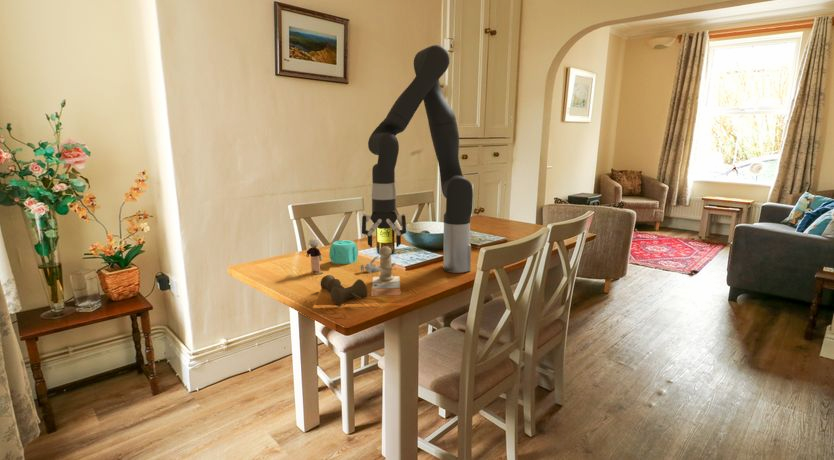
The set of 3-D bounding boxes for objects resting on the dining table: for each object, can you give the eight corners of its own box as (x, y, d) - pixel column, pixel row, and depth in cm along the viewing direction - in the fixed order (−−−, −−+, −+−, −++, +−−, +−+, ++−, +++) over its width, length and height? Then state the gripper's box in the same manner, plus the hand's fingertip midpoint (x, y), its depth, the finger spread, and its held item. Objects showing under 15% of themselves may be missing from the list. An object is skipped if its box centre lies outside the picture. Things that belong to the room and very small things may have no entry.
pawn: (392, 276, 149) (392, 244, 147) (392, 281, 145) (392, 247, 142) (379, 277, 149) (378, 244, 146) (379, 281, 145) (378, 248, 142)
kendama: (341, 287, 144) (375, 303, 129) (314, 295, 138) (346, 313, 123) (339, 269, 143) (374, 284, 127) (312, 276, 137) (344, 292, 122)
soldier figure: (397, 277, 155) (365, 272, 149) (390, 283, 158) (359, 278, 152) (395, 258, 159) (364, 252, 153) (388, 264, 162) (358, 259, 156)
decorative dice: (348, 267, 164) (347, 245, 162) (329, 265, 166) (328, 244, 164) (358, 260, 171) (357, 240, 169) (340, 259, 174) (339, 239, 172)
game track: (401, 278, 150) (401, 275, 150) (402, 297, 133) (402, 294, 133) (371, 279, 150) (371, 276, 150) (369, 298, 132) (368, 295, 132)
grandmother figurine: (327, 272, 158) (325, 237, 155) (321, 275, 154) (319, 240, 151) (310, 269, 161) (308, 235, 158) (303, 272, 157) (300, 238, 154)
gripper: (405, 195, 145) (405, 243, 149) (362, 195, 144) (363, 243, 148) (406, 198, 138) (406, 249, 141) (360, 198, 137) (361, 249, 141)
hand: (384, 246), depth 145 cm, fingers open, 8 cm apart
